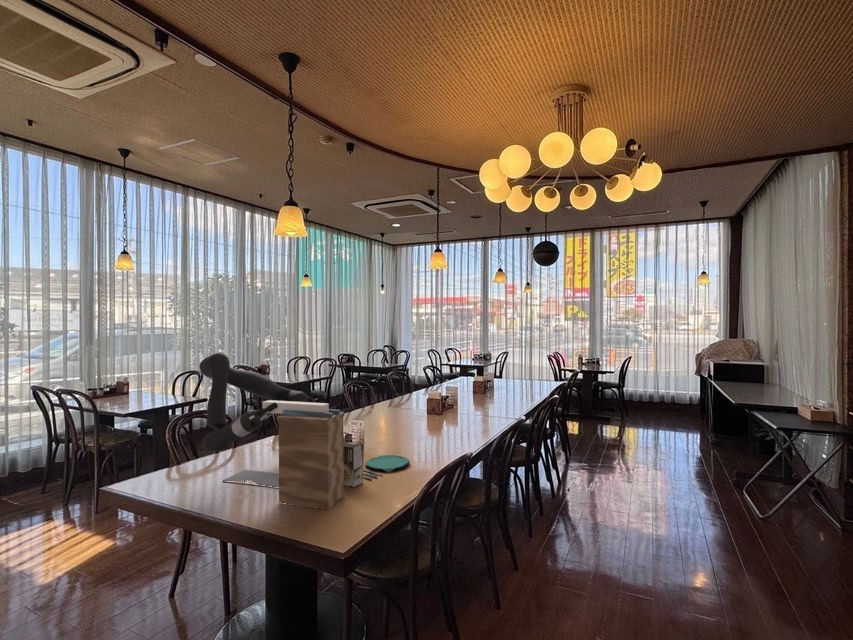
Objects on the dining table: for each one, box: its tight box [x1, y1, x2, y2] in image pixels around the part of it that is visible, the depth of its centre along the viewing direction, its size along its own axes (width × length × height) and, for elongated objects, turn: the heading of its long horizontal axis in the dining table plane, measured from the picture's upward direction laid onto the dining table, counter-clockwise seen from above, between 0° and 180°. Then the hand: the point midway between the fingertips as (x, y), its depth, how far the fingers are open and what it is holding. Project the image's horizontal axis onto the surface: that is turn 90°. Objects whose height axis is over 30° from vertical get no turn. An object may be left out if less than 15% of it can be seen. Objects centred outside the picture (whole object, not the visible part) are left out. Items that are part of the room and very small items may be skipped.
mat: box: [222, 469, 279, 487], centre depth 188 cm, size 14×30×1 cm, turn 74°
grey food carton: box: [343, 441, 364, 488], centre depth 184 cm, size 9×6×16 cm
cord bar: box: [261, 399, 330, 415], centre depth 168 cm, size 4×26×4 cm, turn 74°
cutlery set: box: [363, 454, 411, 481], centre depth 203 cm, size 20×30×2 cm, turn 143°
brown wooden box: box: [276, 408, 346, 510], centre depth 166 cm, size 14×20×34 cm
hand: (279, 403), depth 170 cm, fingers closed on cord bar, 4 cm apart
